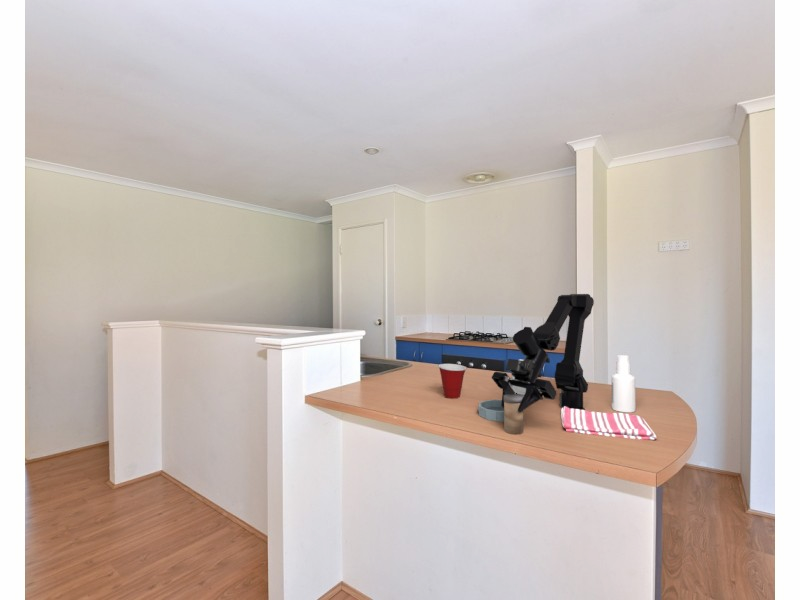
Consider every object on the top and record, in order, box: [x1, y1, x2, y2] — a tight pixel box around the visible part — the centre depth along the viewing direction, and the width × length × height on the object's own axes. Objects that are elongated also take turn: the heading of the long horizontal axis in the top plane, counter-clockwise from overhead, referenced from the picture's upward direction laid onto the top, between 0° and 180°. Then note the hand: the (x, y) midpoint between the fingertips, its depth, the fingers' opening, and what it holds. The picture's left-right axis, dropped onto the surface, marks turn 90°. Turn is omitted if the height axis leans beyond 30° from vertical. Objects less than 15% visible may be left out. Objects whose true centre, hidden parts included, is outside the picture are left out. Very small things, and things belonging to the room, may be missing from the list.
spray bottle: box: [611, 354, 636, 414], centre depth 130 cm, size 7×7×18 cm
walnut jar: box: [503, 393, 524, 435], centre depth 112 cm, size 5×5×10 cm
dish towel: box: [560, 406, 657, 441], centre depth 115 cm, size 17×23×4 cm
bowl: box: [477, 399, 504, 422], centre depth 127 cm, size 14×14×3 cm
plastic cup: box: [438, 363, 468, 399], centre depth 150 cm, size 11×11×12 cm
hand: (510, 409), depth 111 cm, fingers closed on walnut jar, 5 cm apart
